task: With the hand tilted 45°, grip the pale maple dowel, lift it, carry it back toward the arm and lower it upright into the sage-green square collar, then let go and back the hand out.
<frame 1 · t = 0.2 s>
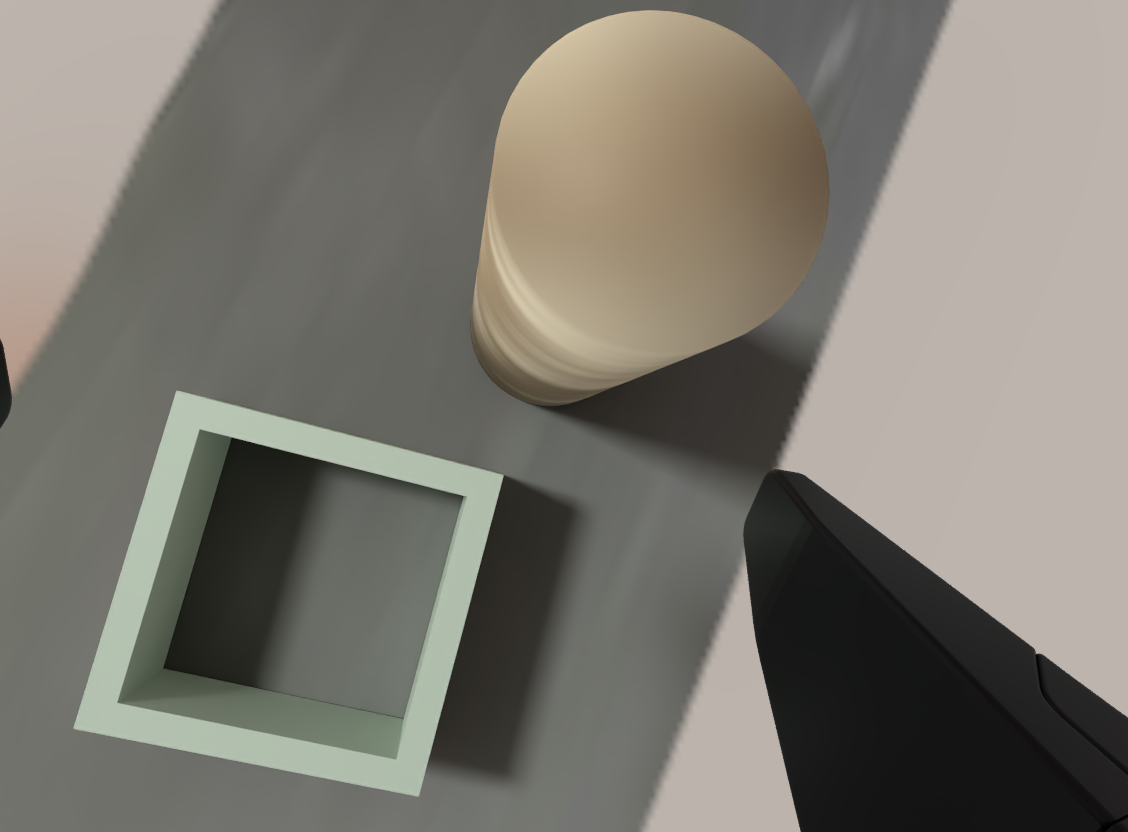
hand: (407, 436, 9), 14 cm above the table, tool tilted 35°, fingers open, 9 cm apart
sage collar: (319, 576, 22), on the table
maple dowel: (550, 327, 24), on the table
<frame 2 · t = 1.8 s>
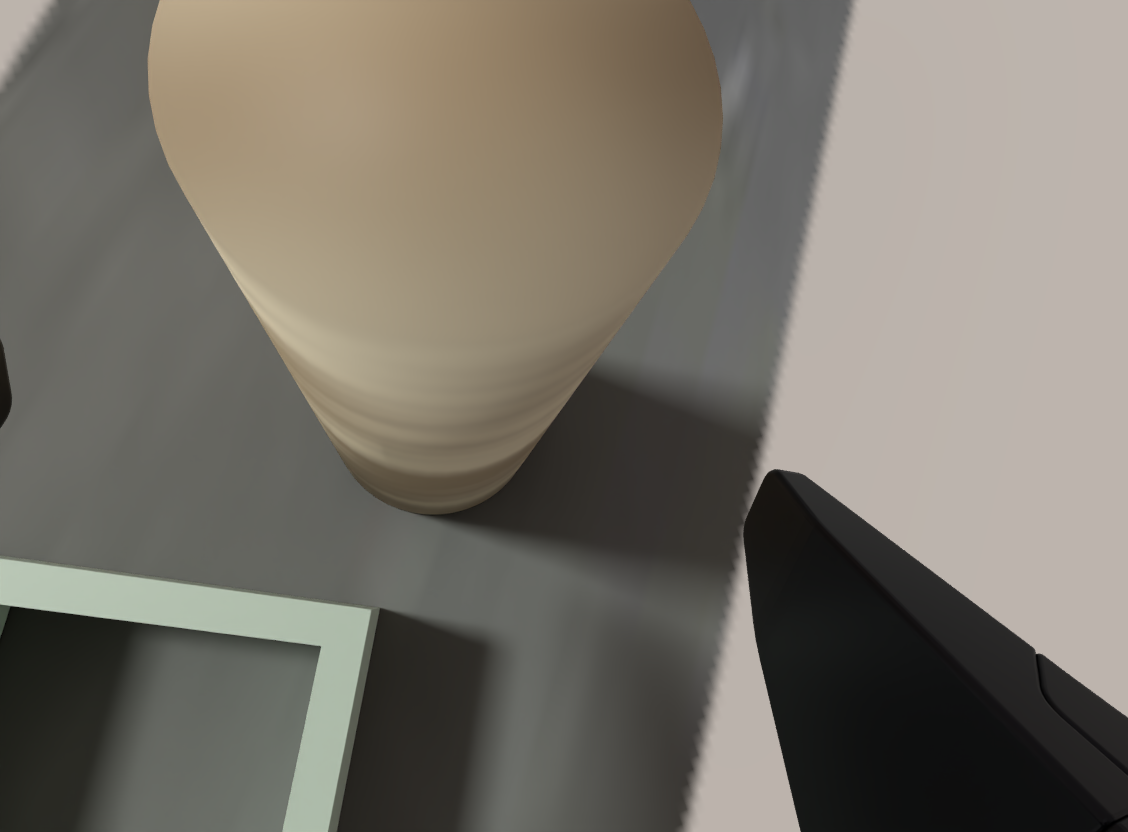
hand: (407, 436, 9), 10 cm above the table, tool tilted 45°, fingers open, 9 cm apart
sage collar: (137, 785, 16), on the table
maple dowel: (435, 415, 19), on the table
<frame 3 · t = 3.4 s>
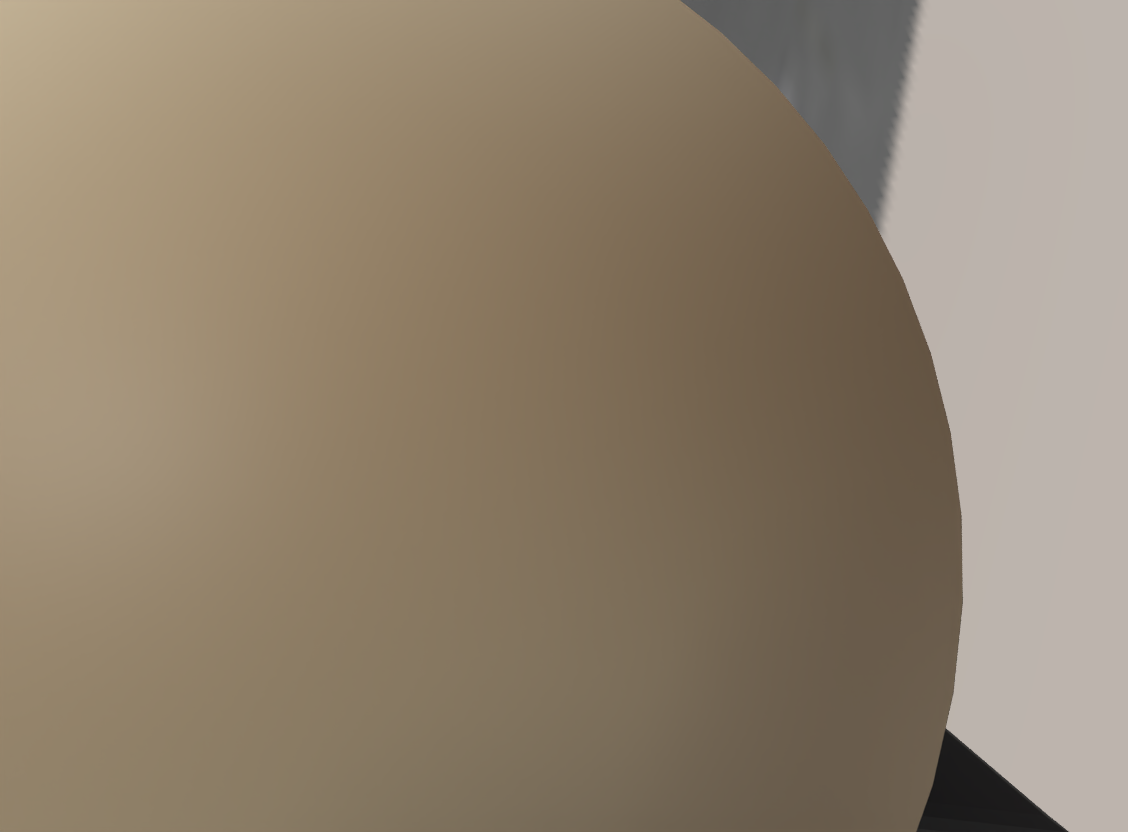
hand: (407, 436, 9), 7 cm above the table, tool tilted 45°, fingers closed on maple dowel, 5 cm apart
maple dowel: (401, 569, 15), on the table, touching gripper
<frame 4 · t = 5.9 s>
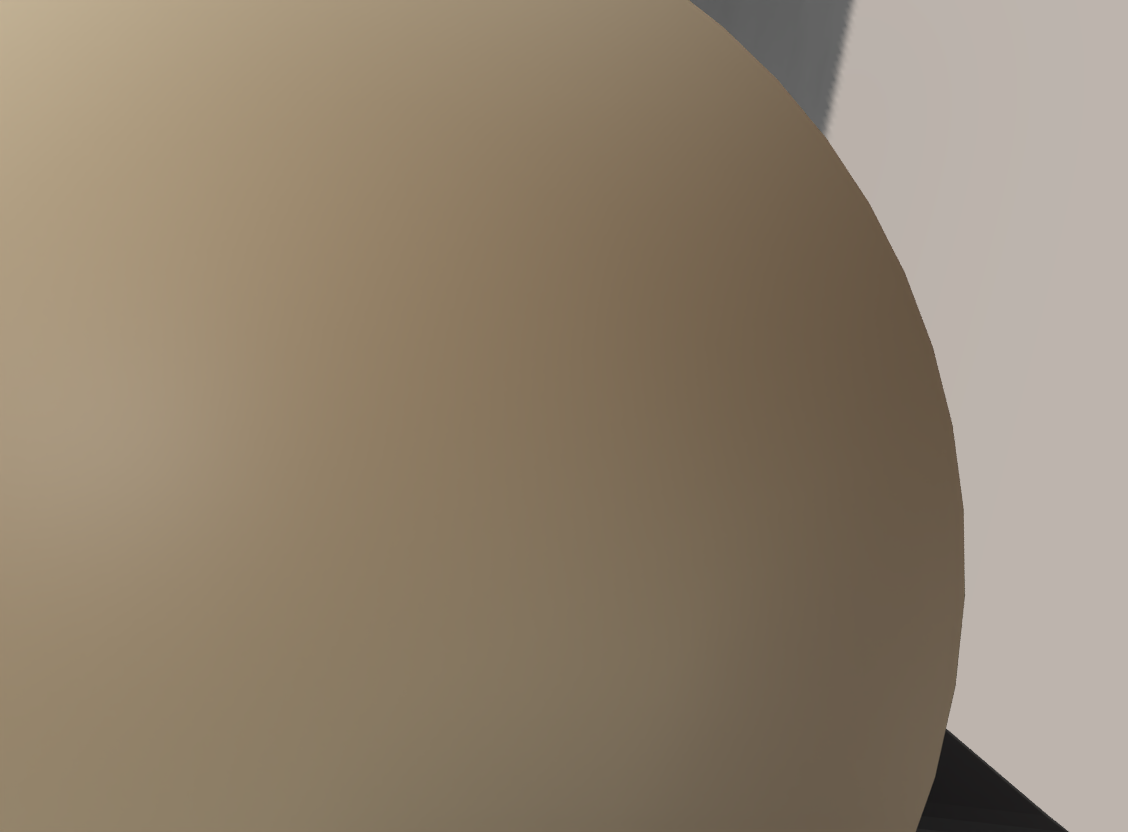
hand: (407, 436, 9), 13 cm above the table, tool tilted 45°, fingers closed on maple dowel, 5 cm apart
maple dowel: (402, 567, 15), point 7 cm above the table, touching gripper
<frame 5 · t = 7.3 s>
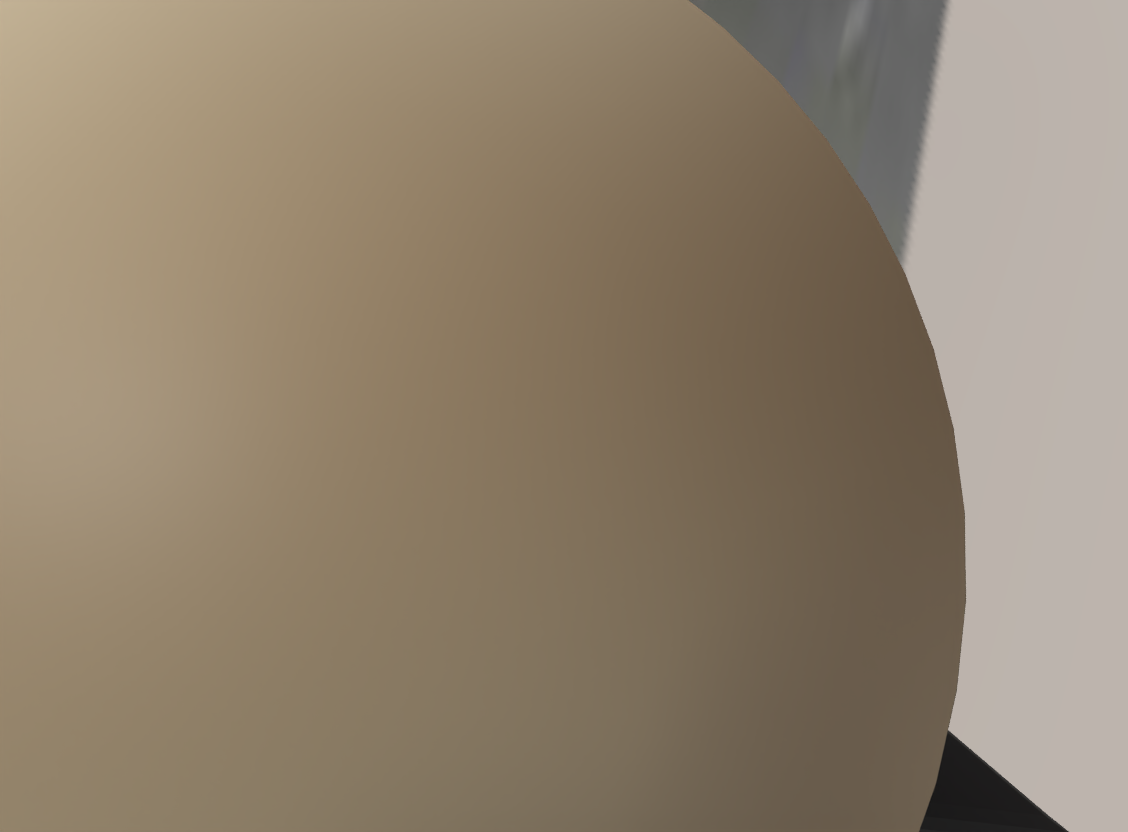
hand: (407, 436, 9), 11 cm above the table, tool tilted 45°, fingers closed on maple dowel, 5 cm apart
maple dowel: (401, 568, 15), point 5 cm above the table, touching gripper
when the fingers open (8 cm above the table, at t = 8.4 s): maple dowel drops 1 cm, resting in sage collar.
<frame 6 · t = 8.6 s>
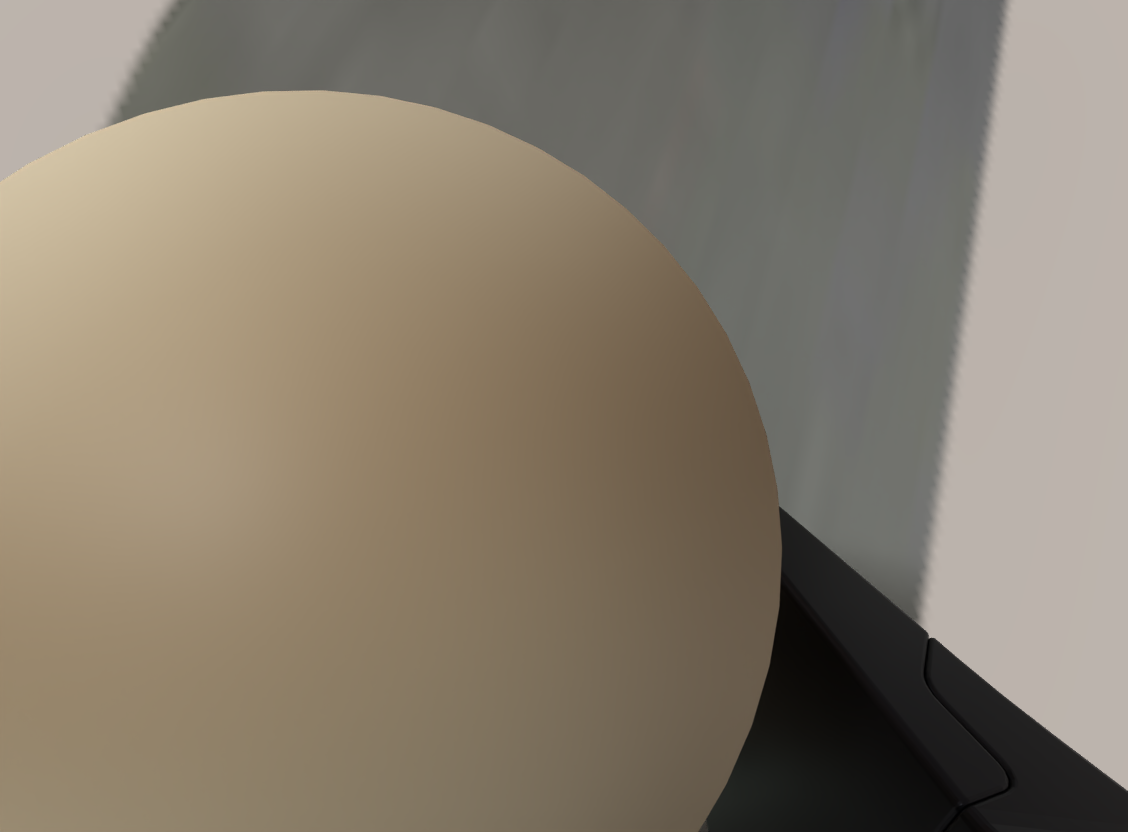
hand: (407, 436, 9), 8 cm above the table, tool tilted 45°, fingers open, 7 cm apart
maple dowel: (404, 572, 16), resting in sage collar
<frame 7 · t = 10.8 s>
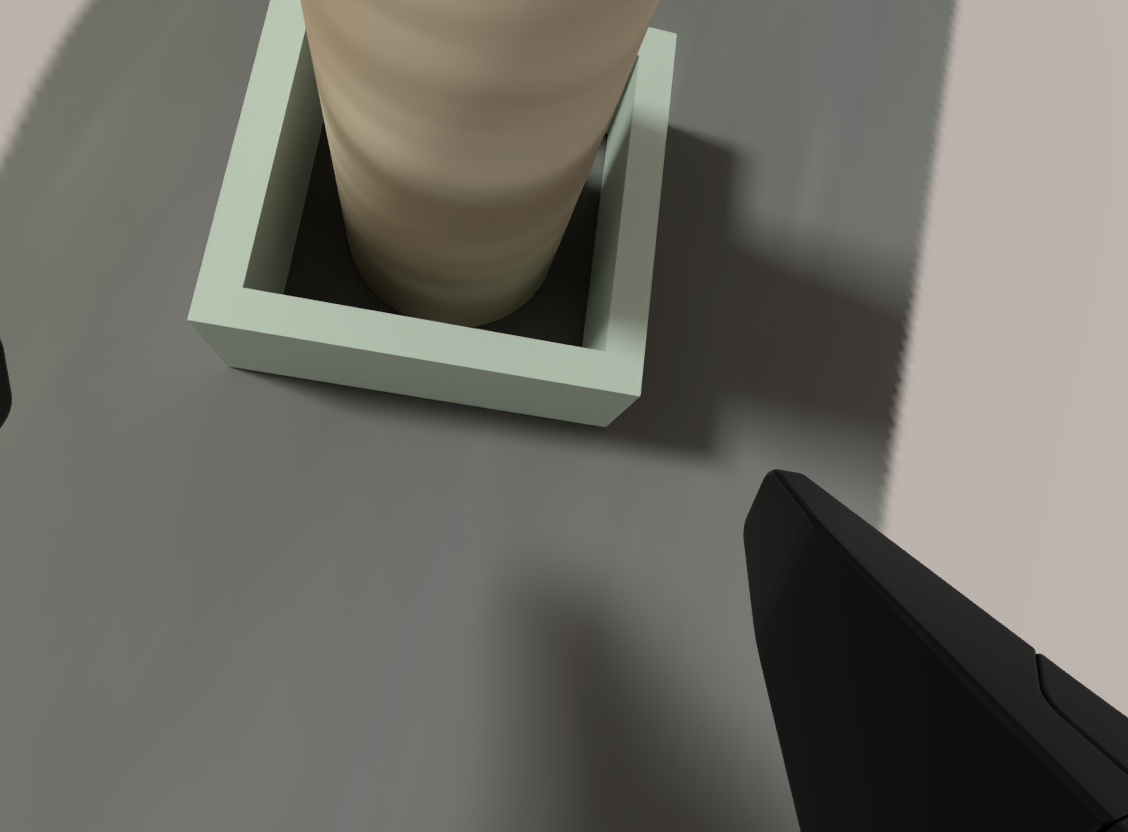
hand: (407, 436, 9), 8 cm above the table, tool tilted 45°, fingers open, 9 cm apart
sage collar: (453, 228, 18), on the table
maple dowel: (453, 230, 18), resting in sage collar
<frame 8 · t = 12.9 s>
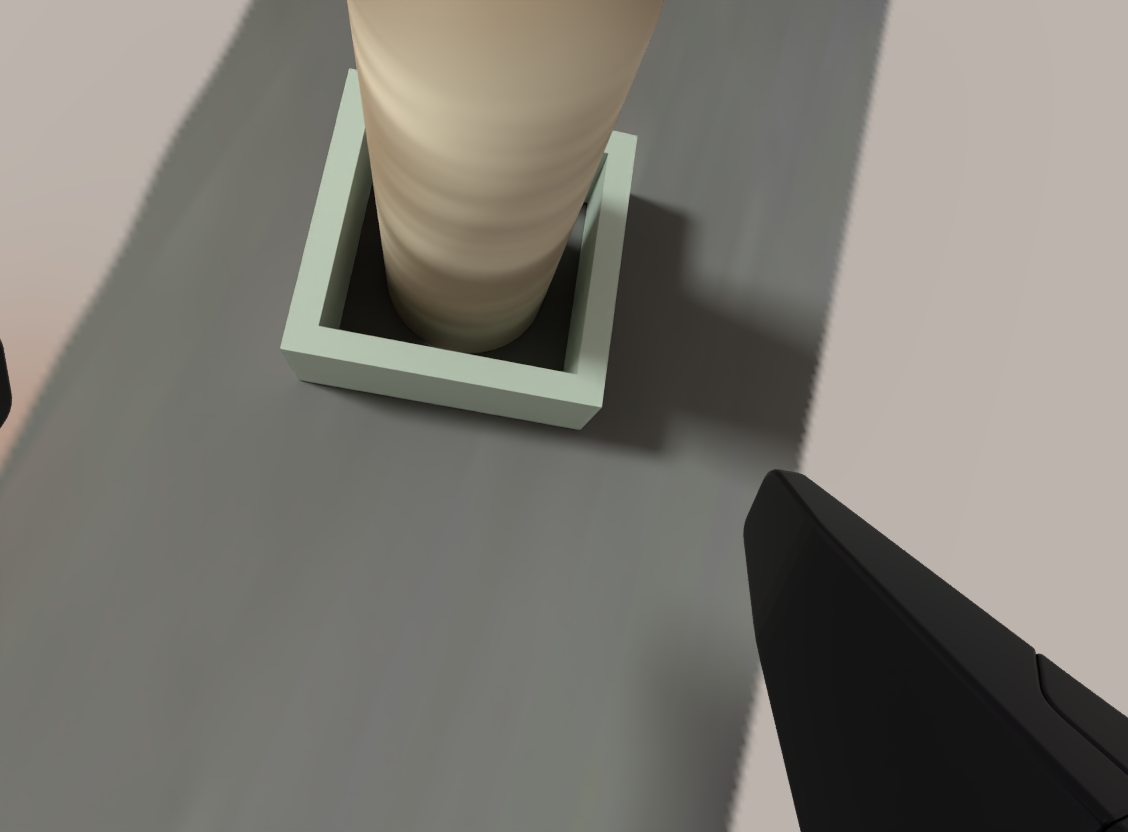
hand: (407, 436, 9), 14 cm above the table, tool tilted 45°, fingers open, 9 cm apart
sage collar: (467, 276, 24), on the table
maple dowel: (467, 278, 24), resting in sage collar
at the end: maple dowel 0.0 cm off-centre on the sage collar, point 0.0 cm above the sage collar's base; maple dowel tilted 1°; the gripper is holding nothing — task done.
